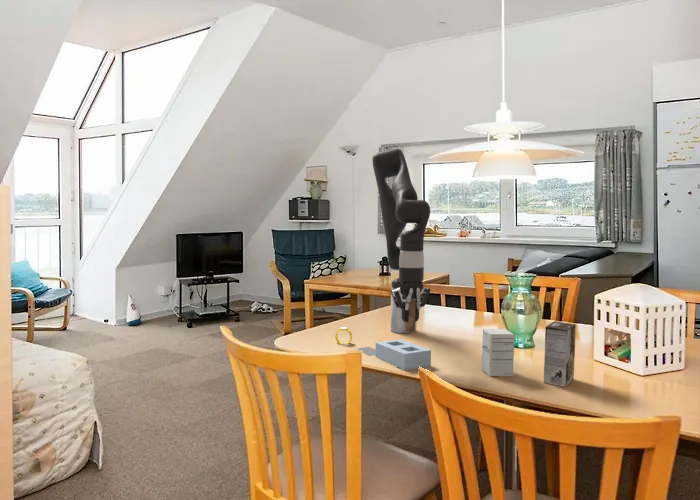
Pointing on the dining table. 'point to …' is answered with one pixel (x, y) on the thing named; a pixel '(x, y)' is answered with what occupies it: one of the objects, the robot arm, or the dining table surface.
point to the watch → (343, 330)
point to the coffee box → (559, 353)
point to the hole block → (403, 354)
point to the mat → (368, 350)
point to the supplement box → (498, 352)
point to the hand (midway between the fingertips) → (410, 321)
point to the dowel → (411, 316)
